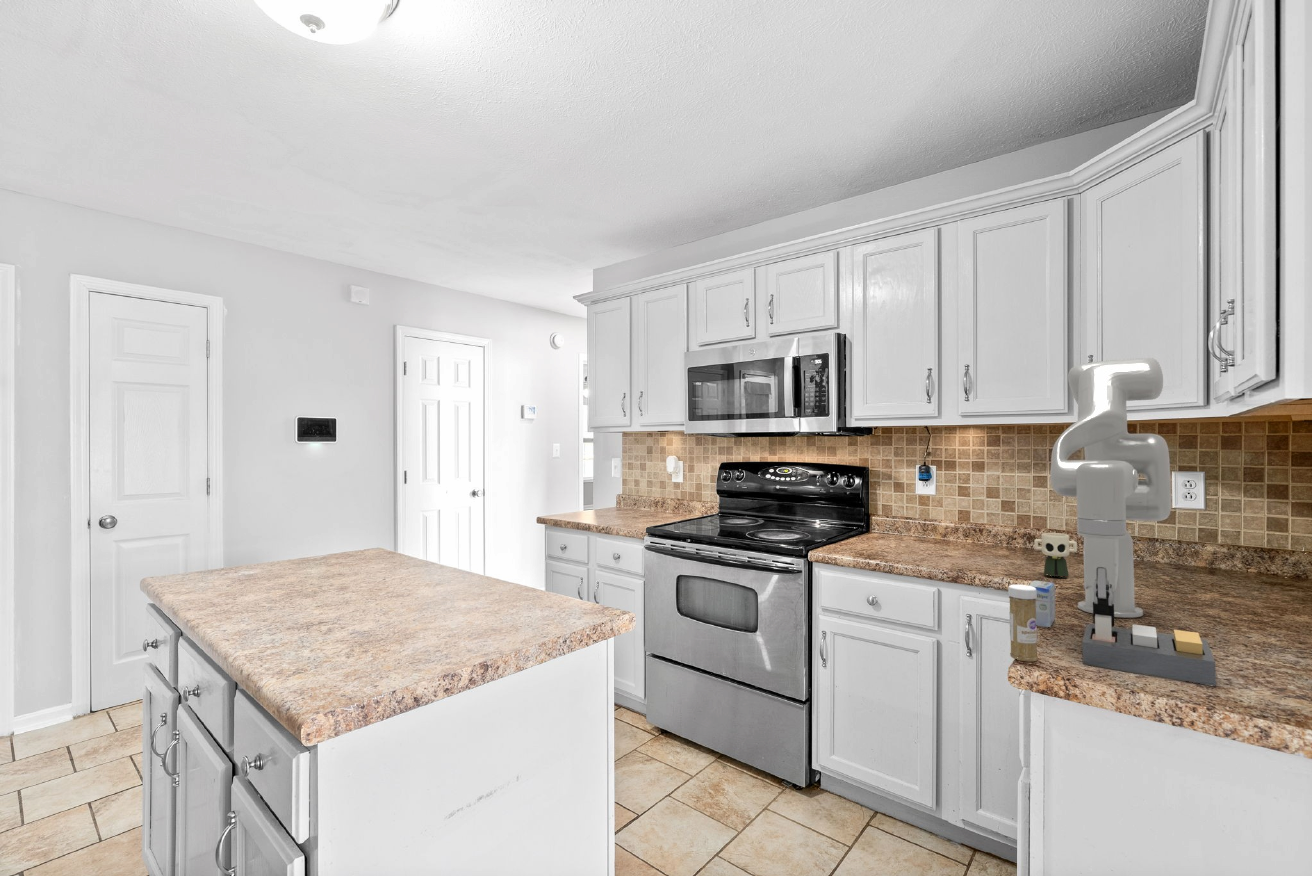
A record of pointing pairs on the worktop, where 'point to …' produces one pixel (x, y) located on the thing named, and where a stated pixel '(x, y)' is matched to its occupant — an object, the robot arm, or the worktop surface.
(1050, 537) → the character mug
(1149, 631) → the white button
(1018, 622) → the sprinkles bottle
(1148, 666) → the control panel
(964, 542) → the worktop surface
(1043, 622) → the medicine box
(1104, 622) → the slider lever
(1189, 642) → the amber button
